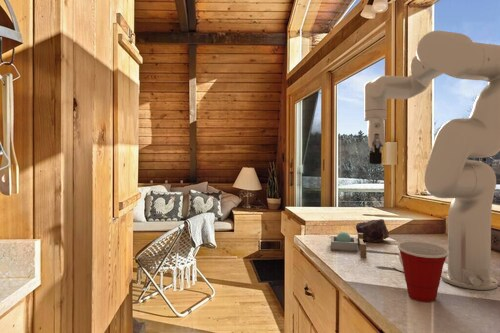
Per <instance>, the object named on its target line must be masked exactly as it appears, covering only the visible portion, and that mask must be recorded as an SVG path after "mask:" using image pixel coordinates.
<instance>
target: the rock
mask: <svg viewBox="0 0 500 333" xmlns="http://www.w3.org/2000/svg"><path fill="white" fill-rule="evenodd" d="M355 230H356V233H357V234H358V233H363V240H364V241H365V242H366V241H367V242H368V243H373V244H374V243H378V242H382V241H384V240H386V239H389V237H390V234H389V230H388V227H387V225H386V223H385V220H384V219H382V218H380V219H372V220H368V221H363V222H359V223H356V226H355ZM364 241H363V242H364Z"/></svg>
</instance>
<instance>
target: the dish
mask: <svg viewBox="0 0 500 333" xmlns="http://www.w3.org/2000/svg"><path fill="white" fill-rule="evenodd" d="M350 237H351V236H350ZM358 247H359V246H358V238H357V237H356V236H355V237H354V236H352V237H351V242H338V241H337V236H333V235H332V236H331V237H330V251H336V252H337V251H340V252H353V253H356V252H357V253H358Z"/></svg>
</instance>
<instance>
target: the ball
mask: <svg viewBox="0 0 500 333" xmlns="http://www.w3.org/2000/svg"><path fill="white" fill-rule="evenodd" d="M336 237H337V241H338V242H351V235H350V234H348V232H345V231H343V232H342V231H340V233H338V234H337V236H336Z"/></svg>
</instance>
